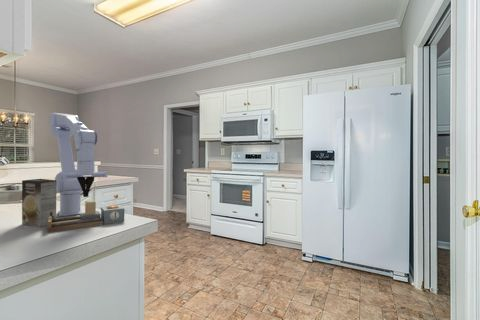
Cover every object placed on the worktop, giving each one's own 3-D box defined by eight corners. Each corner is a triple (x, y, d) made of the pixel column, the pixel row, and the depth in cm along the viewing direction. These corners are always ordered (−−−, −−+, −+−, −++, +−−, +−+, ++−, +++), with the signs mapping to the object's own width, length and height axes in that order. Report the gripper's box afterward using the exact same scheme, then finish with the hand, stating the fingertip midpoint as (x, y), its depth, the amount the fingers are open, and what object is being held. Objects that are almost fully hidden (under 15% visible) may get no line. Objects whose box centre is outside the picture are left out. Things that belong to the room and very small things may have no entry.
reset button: (107, 216, 97) (107, 206, 97) (116, 215, 99) (116, 205, 99) (108, 218, 95) (108, 207, 95) (117, 217, 97) (118, 206, 97)
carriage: (80, 218, 93) (80, 201, 92) (98, 216, 96) (98, 199, 96) (81, 221, 89) (81, 203, 88) (100, 219, 92) (100, 201, 92)
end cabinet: (100, 219, 98) (101, 207, 97) (120, 217, 102) (120, 205, 102) (104, 224, 92) (104, 210, 92) (124, 221, 96) (124, 208, 96)
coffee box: (20, 224, 89) (20, 180, 89) (39, 220, 96) (39, 178, 95) (39, 227, 87) (39, 181, 86) (57, 222, 93) (57, 179, 93)
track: (48, 225, 88) (48, 216, 88) (99, 219, 98) (99, 210, 98) (47, 232, 81) (47, 222, 81) (102, 224, 91) (103, 215, 91)
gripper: (63, 161, 88) (63, 200, 88) (108, 161, 96) (108, 196, 97) (62, 161, 93) (62, 197, 94) (105, 160, 102) (105, 193, 102)
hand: (85, 196), depth 96 cm, fingers closed
